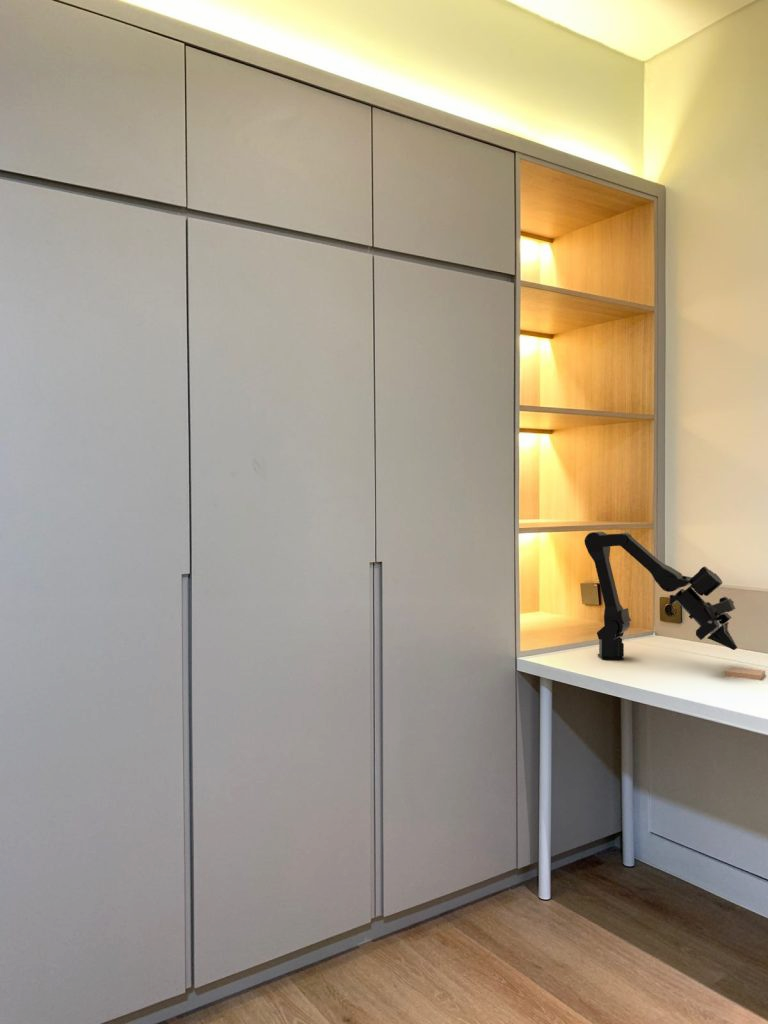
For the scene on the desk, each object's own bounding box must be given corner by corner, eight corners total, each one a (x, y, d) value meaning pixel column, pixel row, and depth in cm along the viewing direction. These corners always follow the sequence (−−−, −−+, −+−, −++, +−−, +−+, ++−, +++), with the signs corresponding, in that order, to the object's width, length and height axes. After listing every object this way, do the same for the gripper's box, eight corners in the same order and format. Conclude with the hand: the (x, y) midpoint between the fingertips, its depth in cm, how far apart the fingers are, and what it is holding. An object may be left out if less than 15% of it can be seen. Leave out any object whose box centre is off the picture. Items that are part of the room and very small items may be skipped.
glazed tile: (725, 670, 216) (760, 675, 211) (730, 666, 222) (765, 670, 217) (725, 676, 216) (760, 681, 211) (730, 672, 222) (765, 676, 217)
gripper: (708, 592, 213) (751, 636, 207) (724, 585, 228) (764, 626, 222) (678, 617, 218) (719, 661, 212) (695, 609, 233) (734, 650, 227)
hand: (735, 648), depth 218 cm, fingers closed
